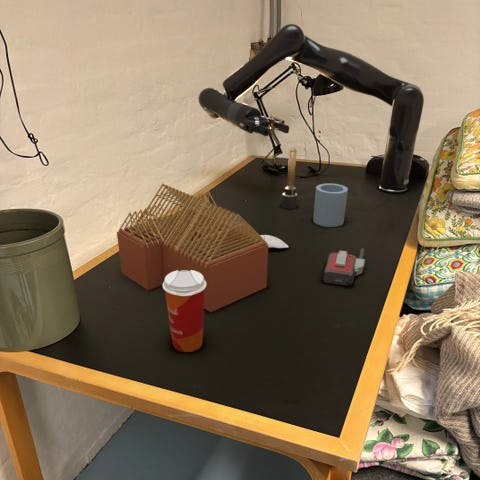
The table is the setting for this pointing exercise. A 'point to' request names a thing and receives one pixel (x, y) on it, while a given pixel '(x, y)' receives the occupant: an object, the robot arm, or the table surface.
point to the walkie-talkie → (343, 268)
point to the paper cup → (185, 308)
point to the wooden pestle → (290, 183)
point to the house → (194, 247)
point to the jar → (330, 205)
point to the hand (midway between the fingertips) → (278, 131)
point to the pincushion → (273, 241)
